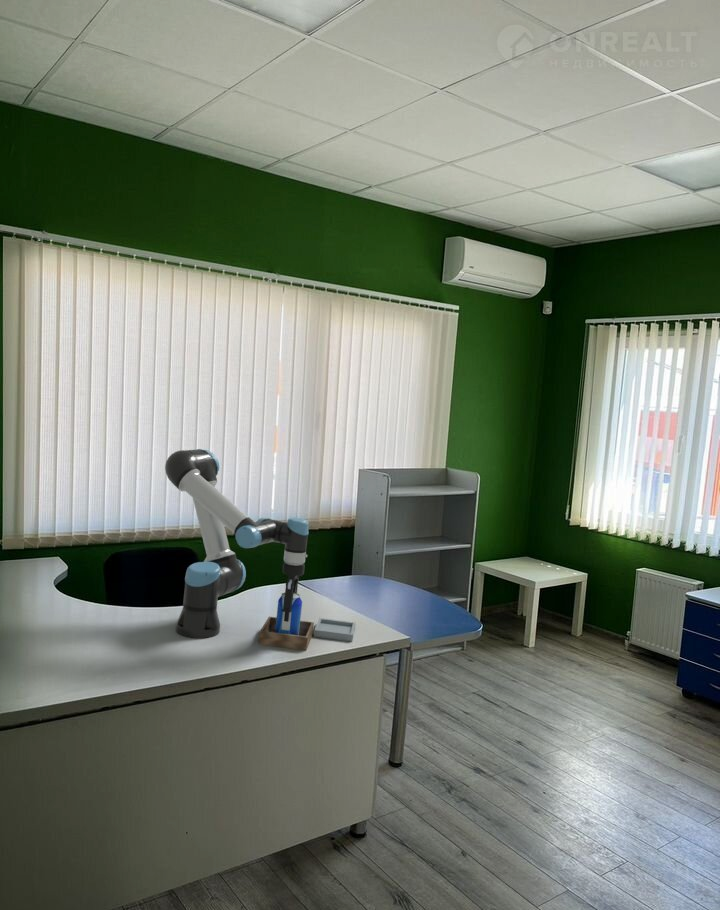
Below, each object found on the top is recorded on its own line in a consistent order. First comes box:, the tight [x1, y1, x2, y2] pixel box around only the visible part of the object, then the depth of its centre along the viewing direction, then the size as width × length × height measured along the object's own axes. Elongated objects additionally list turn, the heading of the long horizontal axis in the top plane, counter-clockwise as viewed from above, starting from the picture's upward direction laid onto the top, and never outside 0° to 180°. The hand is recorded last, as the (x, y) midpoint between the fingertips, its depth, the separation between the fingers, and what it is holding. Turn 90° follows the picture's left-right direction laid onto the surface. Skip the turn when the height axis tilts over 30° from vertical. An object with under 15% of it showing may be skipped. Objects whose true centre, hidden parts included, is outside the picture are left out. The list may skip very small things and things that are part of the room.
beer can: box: [274, 592, 303, 636], centre depth 253 cm, size 8×8×16 cm
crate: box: [258, 616, 315, 651], centre depth 254 cm, size 17×17×4 cm
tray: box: [313, 617, 357, 643], centre depth 266 cm, size 14×14×2 cm
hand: (287, 625), depth 253 cm, fingers closed on beer can, 8 cm apart
